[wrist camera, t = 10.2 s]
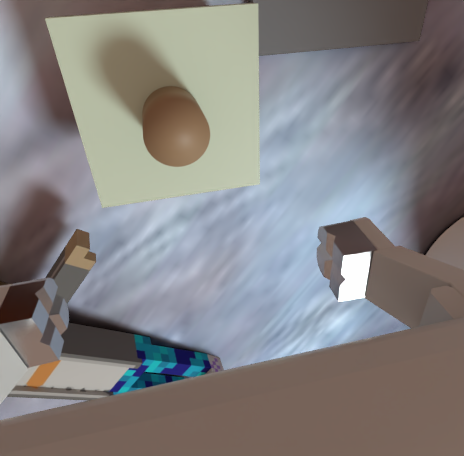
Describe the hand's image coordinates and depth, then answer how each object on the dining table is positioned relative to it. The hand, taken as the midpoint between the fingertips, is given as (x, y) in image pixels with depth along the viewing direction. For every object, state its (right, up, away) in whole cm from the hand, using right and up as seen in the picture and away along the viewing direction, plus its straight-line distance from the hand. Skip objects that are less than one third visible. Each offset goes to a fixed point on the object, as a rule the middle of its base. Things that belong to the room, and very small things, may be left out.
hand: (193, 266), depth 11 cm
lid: (-2, +8, +10) cm, 13 cm away
